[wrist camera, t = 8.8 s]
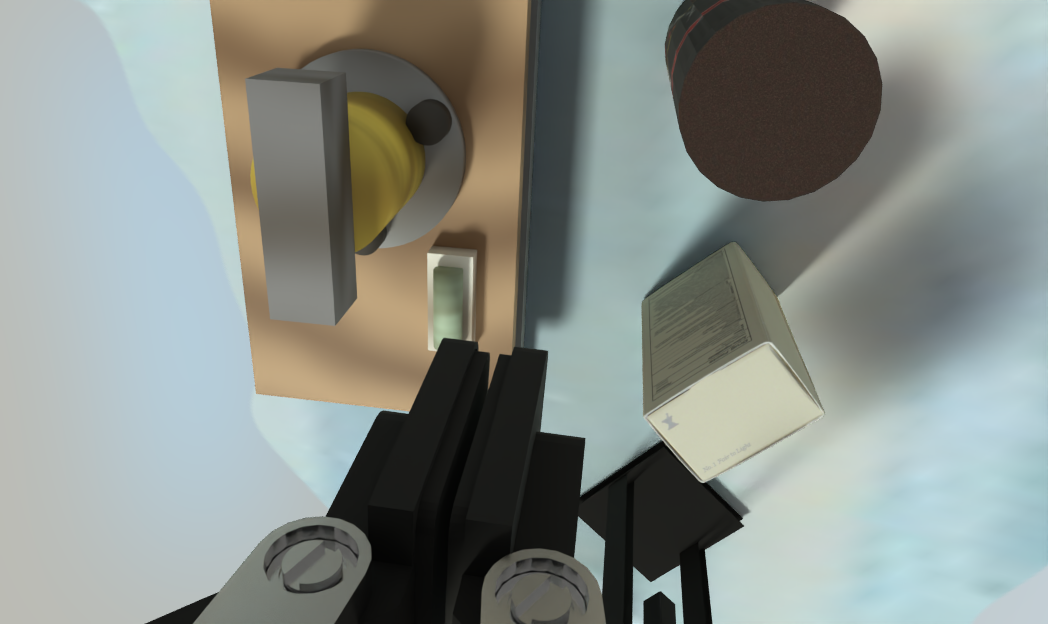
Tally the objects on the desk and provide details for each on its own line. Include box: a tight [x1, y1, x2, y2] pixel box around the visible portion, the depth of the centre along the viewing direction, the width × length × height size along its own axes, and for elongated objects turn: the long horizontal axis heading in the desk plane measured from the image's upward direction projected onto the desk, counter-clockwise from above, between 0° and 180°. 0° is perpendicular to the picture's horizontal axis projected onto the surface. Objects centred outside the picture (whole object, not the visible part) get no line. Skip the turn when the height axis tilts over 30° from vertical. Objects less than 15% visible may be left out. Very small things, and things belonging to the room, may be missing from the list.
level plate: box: [210, 0, 531, 411], centre depth 34 cm, size 22×14×10 cm, turn 177°
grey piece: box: [515, 0, 542, 348], centre depth 40 cm, size 26×14×5 cm, turn 177°
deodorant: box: [665, 0, 882, 201], centre depth 30 cm, size 6×6×15 cm
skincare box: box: [642, 242, 825, 483], centre depth 37 cm, size 6×4×12 cm
